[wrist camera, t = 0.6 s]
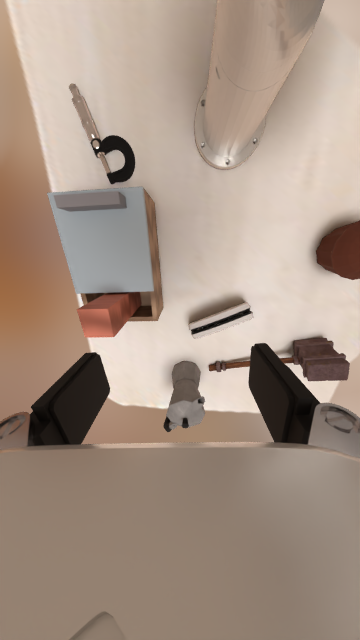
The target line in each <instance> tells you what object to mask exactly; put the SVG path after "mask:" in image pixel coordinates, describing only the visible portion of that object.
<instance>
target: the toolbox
mask: <svg viewBox="0 0 360 640" xmlns="http://www.w3.org/2000/svg"><path fill="white" fill-rule="evenodd" d="M144 195H145V204H146V214H147V224H148V234H149V244H150V254H151V263H152V273H153V283H154V291H147V292H140V295H141V302H142V304H141V306H140V307H139V308H138V309H137V310H136V311H135V313H134V314H133V315H132V316H131V317H130V319H129V320H128V321H158V319H159V316H160V314H161V312H162V309H163V299H162V287H161V275H160V263H159V251H158V239H157V228H156V216H155V204H154V201H153V200H152V199H151V197H150V196H149V195H148V193H147V192H146V191H145V189H144ZM104 294H106V293H81V297H82V300H83V304H84V305H86V304H88V303H90V302H91V301H93V300H95V299H97V298H99V297H100V296H102V295H104Z"/></svg>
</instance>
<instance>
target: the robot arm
mask: <svg viewBox="0 0 360 640" xmlns="http://www.w3.org/2000/svg"><path fill="white" fill-rule="evenodd" d="M323 3H324V0H217V9H216V18H215V27H214V35H213V44H212V52H211V61H210V69H209V78H208V86H207V88H206V89H205V90H204V92H203V94H202V96H201V98H200V101H199V103H198V106H197V110H196V115H195V139H196V144H197V147H198V150H199V152H200V154H201V156H202V157H203V158H204V160H205V161H206V162H207V163H208V164H210V165H211V166H213V167H215V168H218V169H232V168H235V167H237V166H239V165H241V164H242V163H243V162H245V161H246V160H247V159H248V158H249V157H250V156H251V154H252V153H253V152H254V150H255V149H256V147H257V145H258V144H259V142H260V139H261V137H262V134H263V131H264V127H265V121H266V113H267V111H268V109H269V108H270V106H271V104H272V102H273V101H274V99H275V97H276V96H277V94H278V92H279V90H280V89H281V87H282V85H283V83H284V82H285V80H286V78H287V76H288V75H289V73H290V71H291V70H292V68H293V66H294V64H295V62H296V61H297V59H298V57H299V55H300V54H301V52H302V50H303V48H304V47H305V45H306V43H307V41H308V39H309V37H310V35H311V33H312V31H313V29H314V27H315V24H316V22H317V19H318V17H319V14H320V11H321V9H322V6H323ZM202 106H204V107H202ZM253 142H254V143H255V144H253ZM202 146H203V147H204V148H201V147H202ZM226 163H228V165H226ZM249 388H250V390H251V392H252V395H253V397H254V399H255V401H256V403H257V405H258V408H259V410H260V412H261V414H262V416H263V418H264V420H265V423H266V425H267V427H268V429H269V431H270V433H271V436H272V438H273V440H274V442H271V443H270V442H208V443H207V442H205V443H204V442H202V443H132V444H131V443H129V444H82V445H81V443H82V442H83V440H84V438H85V436H86V434H87V432H88V431H89V429H90V427H91V425H92V424H93V422H94V420H95V418H96V416H97V415H98V413H99V411H100V409H101V407H102V405H103V403H104V402H105V400H106V398H107V397H108V395H109V392H110V387H109V383H108V380H107V377H106V374H105V370H104V367H103V364H102V361H101V357H100V355H98V354H97V353H95V352H94V353H85V354H84V355H83V356H82V357H81V358H80V359H79V360H78V361H77V362H76V363H75V364H74V365H73V366H72V367H71V368H70V369H69V370H68V371H67V372H66V373H65V374H64V375H63V376H62V377H61V378H60V379H59V380H57V382H55V384H53V385H52V386H51V387H50V388H49V389H48V390H47V391H46V392H45V393H44V394H43V395H42V396H41V397H40V398H39V399H38V400H37V401H36V402H35V403H34V404H33V405H32V406H31V408H32V410H33V412H32V413H31V414H29V413H28V412H19V413H16V414H13V415H11V416H9V417H7V418H5V419H3V420H2V421H0V640H360V418H359V417H358V416H357V415H356V414H354V413H353V412H351V411H349V410H348V409H346V408H343V407H341V406H339V405H335V404H332V403H320V402H319V401H318V400H317V399H316V398H315V397H314V395H313V394H312V393H311V392H310V391H309V390H308V389H307V388H306V386H305V385H304V384H303V383H302V382H301V381H300V380H299V379H298V377H297V376H296V375H295V374H294V373H293V372H292V371H291V370H290V368H289V367H287V366H286V365H285V364H284V363H283V362H282V361H281V360H280V358H279V357H278V356H277V355H276V354H275V353H274V352H273V350H272V349H271V348H270V347H269V346H268V345H267V344H266V343H259V344H255V345H254V346H252V348H251V358H250V371H249Z"/></svg>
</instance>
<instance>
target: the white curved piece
mask: <svg viewBox="0 0 360 640" xmlns="http://www.w3.org/2000/svg"><path fill="white" fill-rule="evenodd" d="M252 318H254V317H253V312H251V311H250V305H249V304H248V303H247V302H245V303H242V304H239V305H237V306H234V307H231V308H229V309H226V310H224V311H221V312H218V313H216V314H213V315H210V316H208V317H205V318H202V319H200V320H197V321H195V322H192V323H189V329H190V330H191V331H192V332H191V334H192V336H193V338H194V339H197V338H200V337H203V336H206V335H209V334H212V333H216V332H218V331H221V330H224V329H227V328H230V327H232V326H235V325H237V324H240V323H243V322H245V321H247V320H250V319H252ZM225 319H226V320H225ZM222 320H224V321H222ZM220 321H221V322H220ZM217 322H219V323H217ZM214 323H216V324H214Z"/></svg>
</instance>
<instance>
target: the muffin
mask: <svg viewBox="0 0 360 640" xmlns="http://www.w3.org/2000/svg"><path fill="white" fill-rule="evenodd" d="M316 254H317V263H318V264H320V265H322V266H323V267H324V268H325V269H326V270H329V271H331V272H333V273H336V274H338V275H340V276H341V277H344V278H348V279H352V280H354V279H360V221H358V222H355V223H352V224H349V225H346V226H343V227H340V228H337V229H335V230H334V231H332V232H331V233H330V234H329V235H327V236H325V237H324V238H323V239H322V241H321V243H320V245H319V247H318V249H317V250H316Z"/></svg>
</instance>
